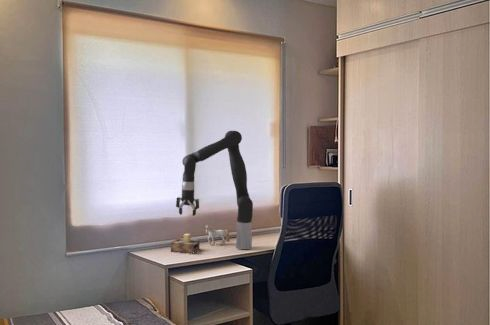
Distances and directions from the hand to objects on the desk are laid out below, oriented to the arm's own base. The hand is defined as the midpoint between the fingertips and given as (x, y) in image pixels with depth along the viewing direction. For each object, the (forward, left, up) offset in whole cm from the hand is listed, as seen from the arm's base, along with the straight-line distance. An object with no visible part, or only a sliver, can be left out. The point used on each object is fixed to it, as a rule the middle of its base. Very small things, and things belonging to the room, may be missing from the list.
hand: (187, 214), depth 304 cm
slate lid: (0, 0, -18) cm, 18 cm away
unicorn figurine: (-13, -18, -23) cm, 32 cm away
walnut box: (+1, 0, -22) cm, 22 cm away
